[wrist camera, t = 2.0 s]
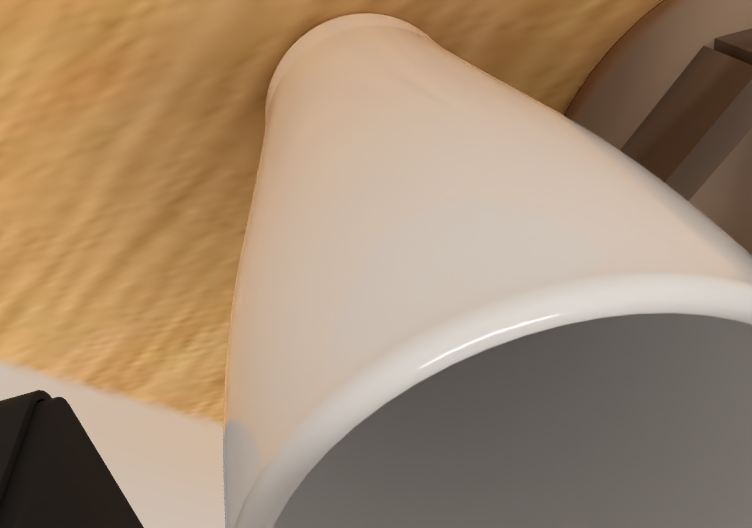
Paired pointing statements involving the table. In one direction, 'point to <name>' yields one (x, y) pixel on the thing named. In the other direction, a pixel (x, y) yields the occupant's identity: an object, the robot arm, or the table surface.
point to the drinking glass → (473, 312)
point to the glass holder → (683, 104)
